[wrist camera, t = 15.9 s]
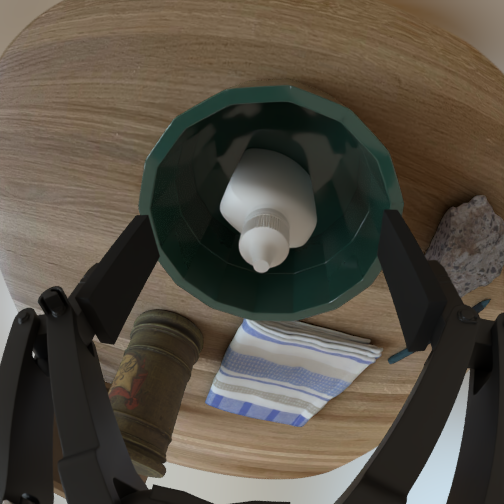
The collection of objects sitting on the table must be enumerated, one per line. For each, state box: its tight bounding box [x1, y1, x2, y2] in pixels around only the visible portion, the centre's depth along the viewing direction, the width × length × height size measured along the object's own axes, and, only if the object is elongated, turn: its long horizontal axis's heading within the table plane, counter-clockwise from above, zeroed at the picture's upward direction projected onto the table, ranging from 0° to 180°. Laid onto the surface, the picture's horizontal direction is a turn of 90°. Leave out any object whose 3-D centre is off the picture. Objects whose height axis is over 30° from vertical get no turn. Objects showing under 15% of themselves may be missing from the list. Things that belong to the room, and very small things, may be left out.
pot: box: [138, 79, 404, 321], centre depth 20 cm, size 15×15×9 cm
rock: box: [425, 195, 504, 298], centre depth 23 cm, size 9×11×4 cm
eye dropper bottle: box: [220, 148, 317, 273], centre depth 18 cm, size 4×6×12 cm
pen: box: [388, 299, 491, 364], centre depth 32 cm, size 1×16×1 cm, turn 136°
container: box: [108, 310, 203, 478], centre depth 29 cm, size 9×9×18 cm
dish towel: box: [205, 318, 383, 427], centre depth 38 cm, size 17×24×3 cm
